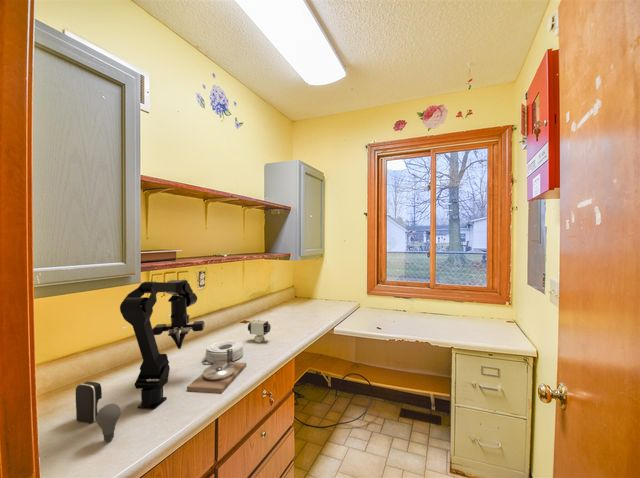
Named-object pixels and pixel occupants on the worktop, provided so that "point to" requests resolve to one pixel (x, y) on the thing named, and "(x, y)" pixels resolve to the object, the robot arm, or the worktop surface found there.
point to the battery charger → (87, 401)
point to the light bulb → (108, 420)
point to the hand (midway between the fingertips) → (179, 348)
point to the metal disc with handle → (220, 369)
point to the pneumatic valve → (259, 329)
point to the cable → (222, 351)
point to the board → (218, 385)
